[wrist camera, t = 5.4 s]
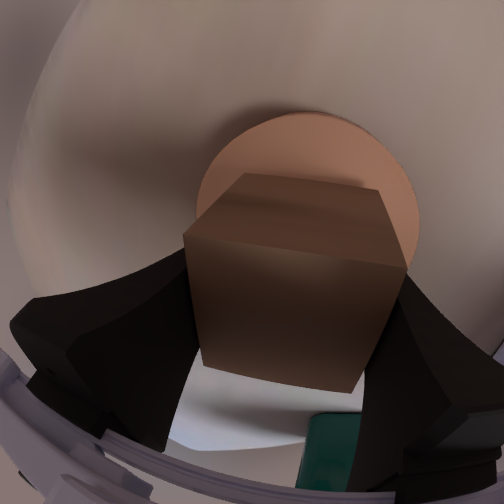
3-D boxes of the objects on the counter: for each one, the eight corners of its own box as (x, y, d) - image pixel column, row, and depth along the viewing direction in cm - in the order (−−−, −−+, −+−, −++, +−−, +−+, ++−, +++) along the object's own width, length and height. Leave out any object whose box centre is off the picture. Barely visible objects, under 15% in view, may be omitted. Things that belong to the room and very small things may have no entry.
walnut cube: (352, 297, 12) (351, 393, 8) (244, 279, 13) (203, 365, 9) (378, 190, 9) (407, 268, 5) (244, 172, 11) (182, 234, 6)
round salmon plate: (380, 290, 17) (385, 331, 14) (225, 268, 19) (205, 303, 16) (416, 127, 11) (440, 139, 8) (218, 107, 13) (188, 114, 10)
